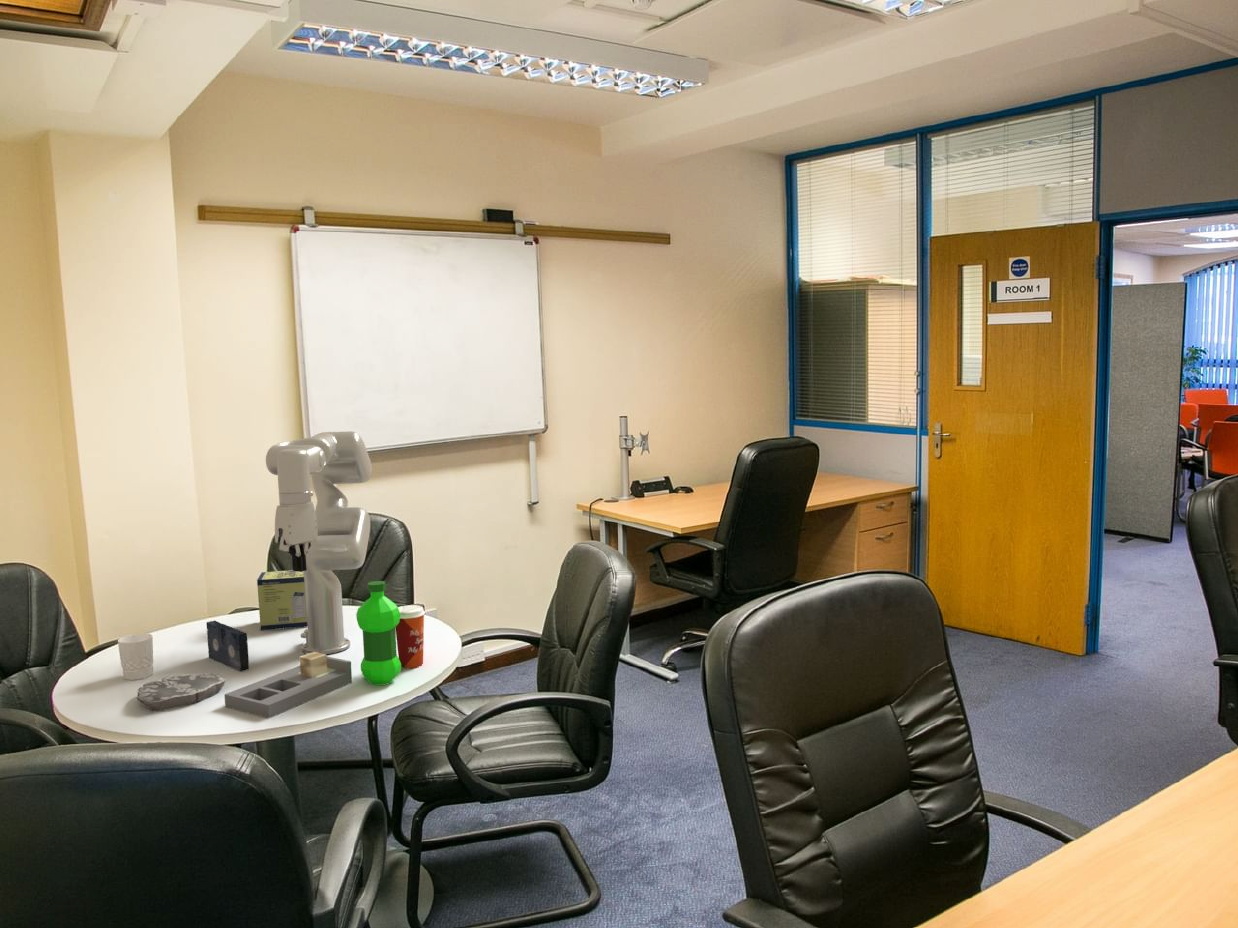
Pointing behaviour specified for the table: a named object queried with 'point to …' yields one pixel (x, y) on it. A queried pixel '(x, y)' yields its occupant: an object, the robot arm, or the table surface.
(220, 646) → the vhs cassette tape
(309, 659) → the birch block
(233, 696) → the box
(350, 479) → the robot arm
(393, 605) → the plastic bottle
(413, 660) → the coffee cup
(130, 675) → the white cup
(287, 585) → the protein box
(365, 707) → the table surface
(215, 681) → the brain slice
